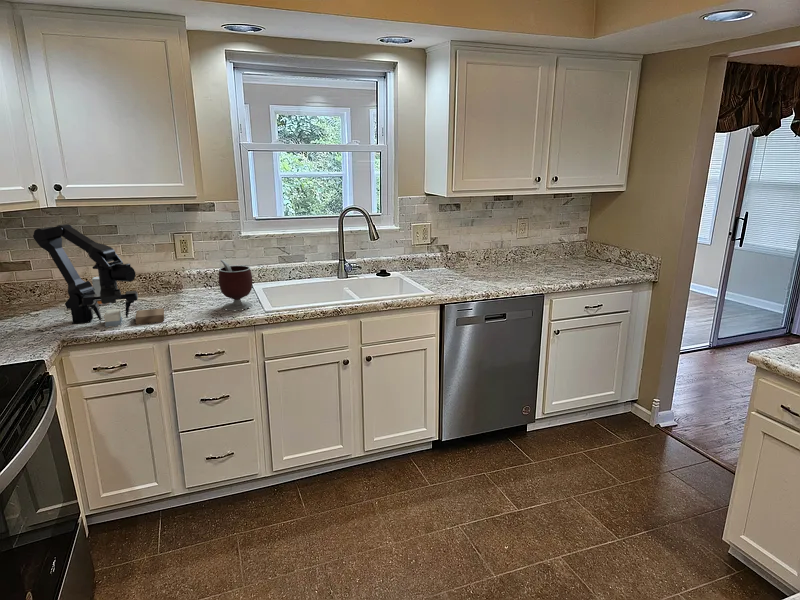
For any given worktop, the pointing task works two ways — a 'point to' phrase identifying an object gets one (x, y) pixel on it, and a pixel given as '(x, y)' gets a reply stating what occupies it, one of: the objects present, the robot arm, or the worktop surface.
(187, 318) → the worktop surface
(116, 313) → the lid plate
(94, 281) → the skincare box
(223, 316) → the worktop surface
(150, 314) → the walnut stand
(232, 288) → the mate gourd
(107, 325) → the base plate
